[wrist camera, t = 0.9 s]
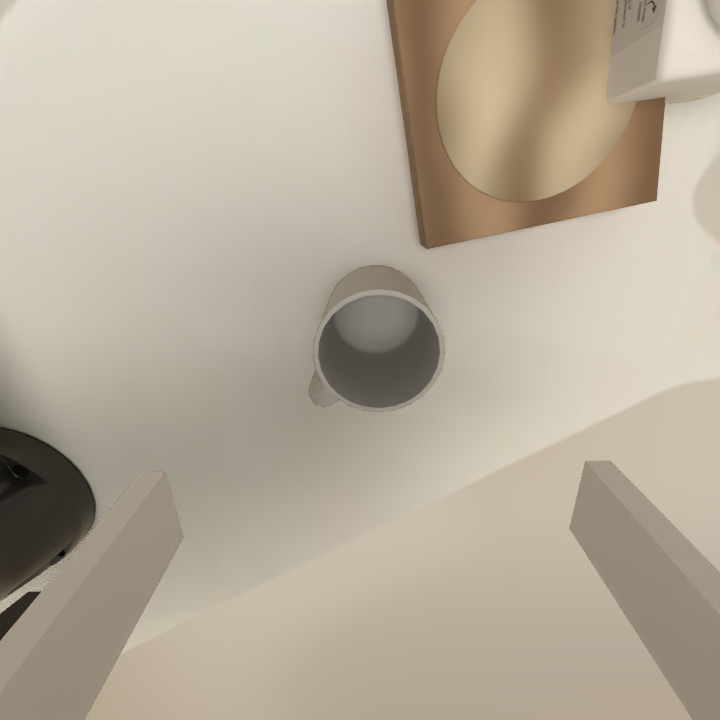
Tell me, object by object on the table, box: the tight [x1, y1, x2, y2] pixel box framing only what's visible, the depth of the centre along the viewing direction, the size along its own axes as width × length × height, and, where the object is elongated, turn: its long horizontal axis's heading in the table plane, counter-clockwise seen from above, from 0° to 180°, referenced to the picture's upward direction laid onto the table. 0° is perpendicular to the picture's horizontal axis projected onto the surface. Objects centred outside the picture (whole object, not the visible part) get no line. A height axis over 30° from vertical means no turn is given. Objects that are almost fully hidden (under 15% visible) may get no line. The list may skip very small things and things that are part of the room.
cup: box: [309, 266, 445, 412], centre depth 25 cm, size 7×10×9 cm
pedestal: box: [387, 0, 665, 249], centre depth 22 cm, size 14×14×3 cm
